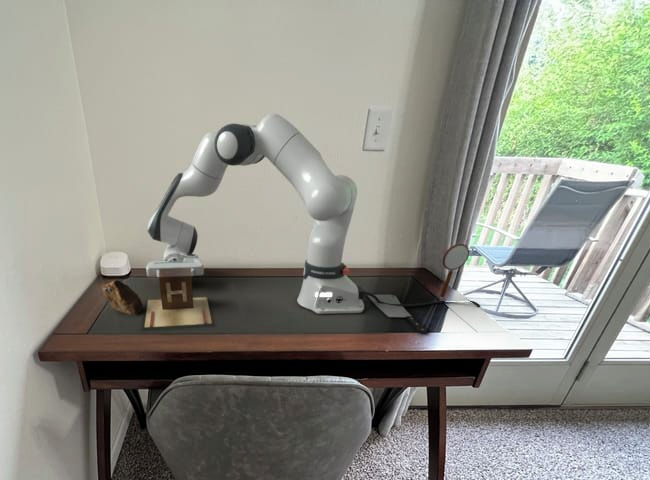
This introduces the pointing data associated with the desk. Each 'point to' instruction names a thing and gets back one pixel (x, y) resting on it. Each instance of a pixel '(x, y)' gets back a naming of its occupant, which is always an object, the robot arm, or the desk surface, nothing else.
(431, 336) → the desk surface
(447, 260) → the magnifying glass
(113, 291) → the decorative rock
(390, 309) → the cleaver
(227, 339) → the desk surface
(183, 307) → the tall rectangular block
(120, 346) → the desk surface
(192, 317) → the game board
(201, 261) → the robot arm
